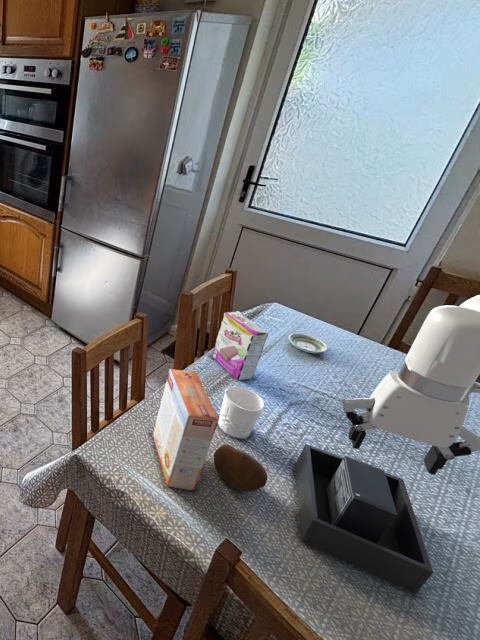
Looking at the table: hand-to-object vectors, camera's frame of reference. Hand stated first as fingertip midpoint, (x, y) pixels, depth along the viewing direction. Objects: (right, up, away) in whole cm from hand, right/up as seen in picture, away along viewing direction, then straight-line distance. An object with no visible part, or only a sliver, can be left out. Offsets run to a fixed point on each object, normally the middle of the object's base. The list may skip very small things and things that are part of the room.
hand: (390, 455), depth 73 cm
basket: (0, -17, +8) cm, 19 cm away
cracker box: (-28, -12, +21) cm, 37 cm away
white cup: (-9, -8, +29) cm, 31 cm away
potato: (-17, -14, +16) cm, 27 cm away
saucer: (+31, +6, +56) cm, 65 cm away
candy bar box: (+3, +2, +49) cm, 49 cm away
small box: (0, -16, +8) cm, 18 cm away
